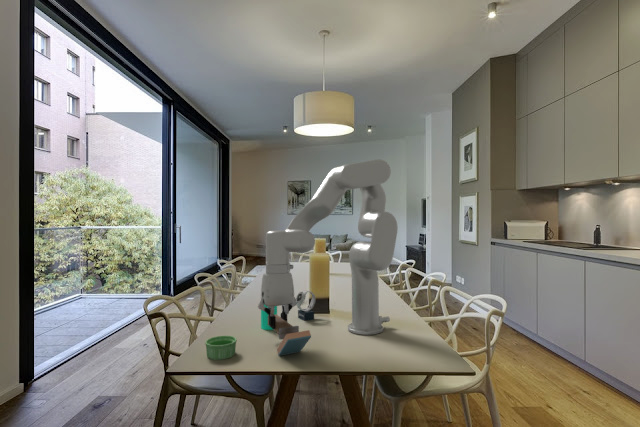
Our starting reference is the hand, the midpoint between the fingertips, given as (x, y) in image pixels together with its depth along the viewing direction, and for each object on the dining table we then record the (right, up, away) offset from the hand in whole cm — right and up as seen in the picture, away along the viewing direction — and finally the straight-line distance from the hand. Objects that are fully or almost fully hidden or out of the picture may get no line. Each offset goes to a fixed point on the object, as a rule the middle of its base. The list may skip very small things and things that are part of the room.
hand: (278, 326), depth 118 cm
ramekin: (-16, -6, -9) cm, 19 cm away
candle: (-5, -6, +18) cm, 20 cm away
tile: (+4, -5, -8) cm, 10 cm away
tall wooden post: (+1, -1, -2) cm, 2 cm away
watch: (+8, -6, +30) cm, 32 cm away
